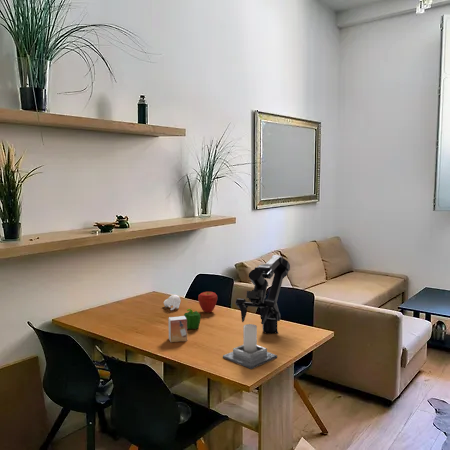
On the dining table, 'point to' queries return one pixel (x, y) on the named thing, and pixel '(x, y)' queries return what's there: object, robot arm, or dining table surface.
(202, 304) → the apple
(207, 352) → the dining table surface
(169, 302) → the white animal figurine
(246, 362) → the duct collar
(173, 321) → the small box
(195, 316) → the bell pepper
